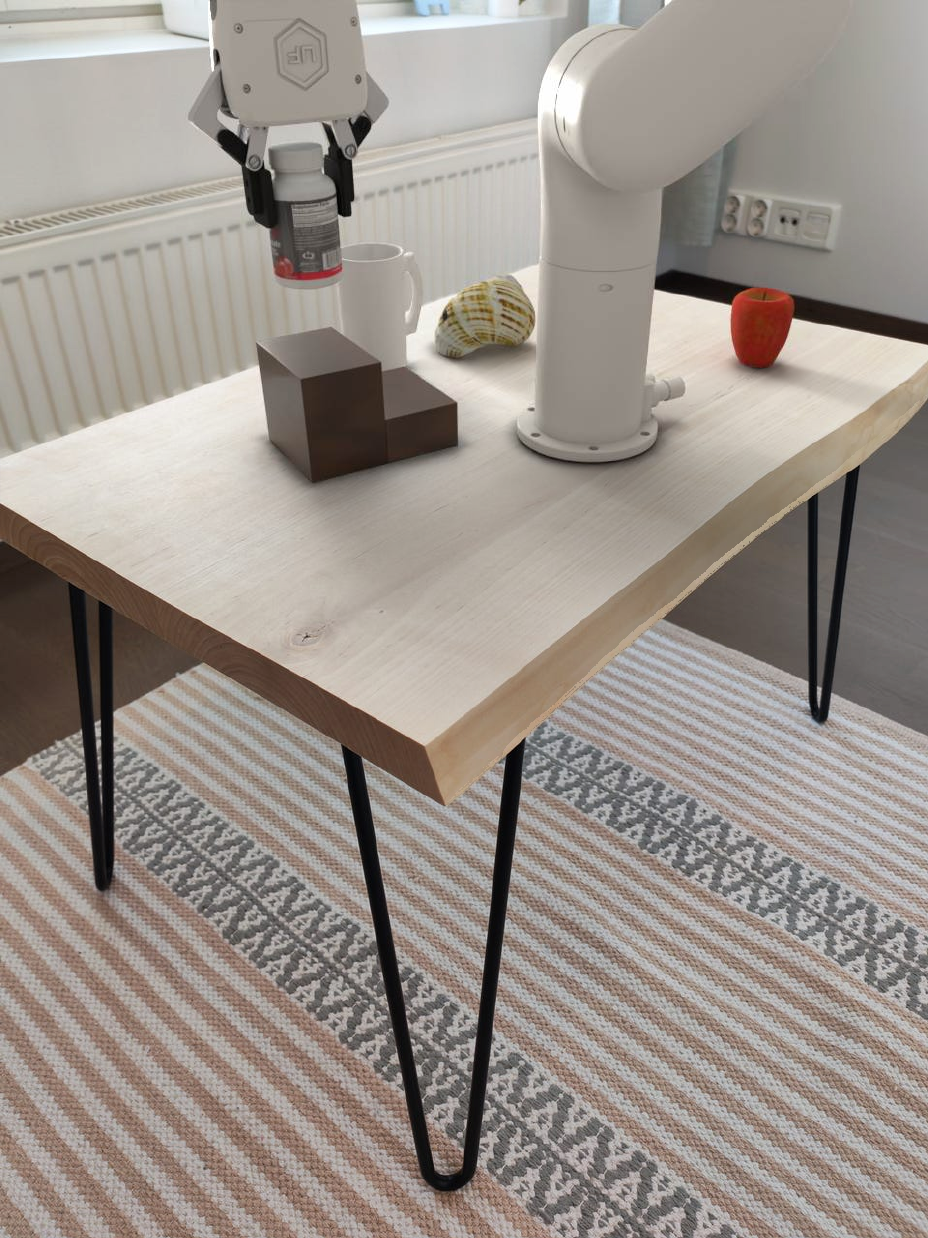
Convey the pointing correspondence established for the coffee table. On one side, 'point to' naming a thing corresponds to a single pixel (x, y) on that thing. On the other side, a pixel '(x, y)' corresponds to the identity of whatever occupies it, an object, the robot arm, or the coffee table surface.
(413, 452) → the step shelf
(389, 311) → the mug
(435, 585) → the coffee table surface
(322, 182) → the pill bottle
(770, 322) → the apple
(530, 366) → the coffee table surface
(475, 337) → the seashell
